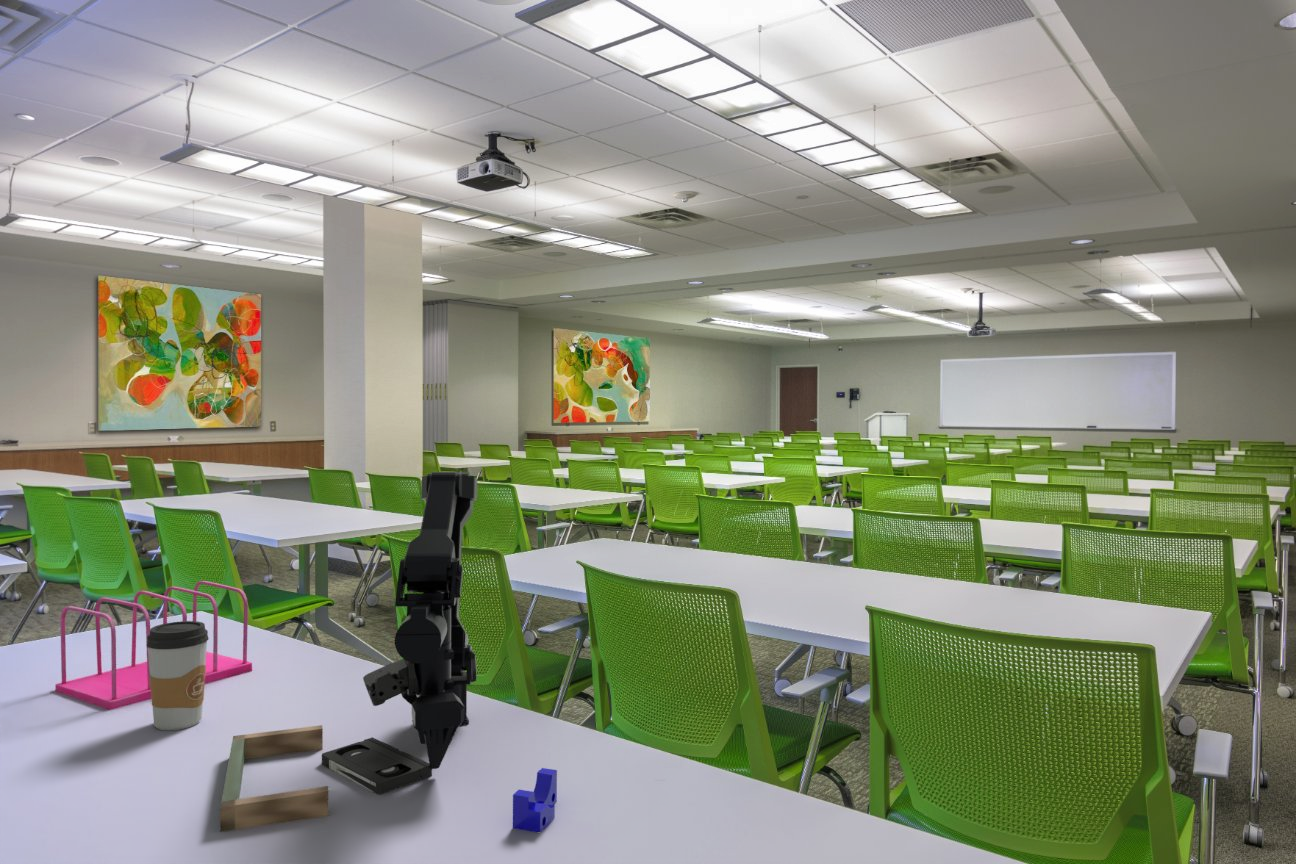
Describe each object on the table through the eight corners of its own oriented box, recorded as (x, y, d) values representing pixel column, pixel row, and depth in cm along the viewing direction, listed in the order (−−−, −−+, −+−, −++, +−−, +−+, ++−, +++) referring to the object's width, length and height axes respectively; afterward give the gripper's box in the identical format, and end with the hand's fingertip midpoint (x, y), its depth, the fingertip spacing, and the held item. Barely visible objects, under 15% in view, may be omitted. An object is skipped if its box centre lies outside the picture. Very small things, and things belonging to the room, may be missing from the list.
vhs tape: (320, 768, 117) (320, 753, 117) (372, 751, 123) (372, 737, 123) (378, 799, 108) (378, 783, 108) (431, 779, 114) (431, 764, 114)
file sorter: (253, 672, 158) (253, 587, 158) (110, 713, 137) (109, 614, 136) (196, 658, 167) (196, 577, 167) (54, 694, 145) (53, 601, 145)
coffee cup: (182, 737, 126) (181, 635, 126) (133, 732, 128) (132, 632, 128) (221, 717, 135) (220, 621, 134) (174, 713, 136) (174, 618, 136)
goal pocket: (322, 745, 124) (322, 725, 124) (328, 816, 102) (328, 791, 102) (233, 757, 119) (233, 735, 119) (220, 833, 98) (220, 807, 98)
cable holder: (540, 833, 99) (540, 799, 99) (512, 828, 100) (512, 794, 100) (567, 803, 107) (568, 771, 107) (541, 799, 108) (542, 767, 108)
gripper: (361, 630, 123) (361, 739, 124) (374, 667, 106) (374, 793, 106) (441, 624, 127) (441, 729, 128) (465, 657, 110) (465, 779, 111)
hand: (429, 755), depth 118 cm, fingers open, 9 cm apart
